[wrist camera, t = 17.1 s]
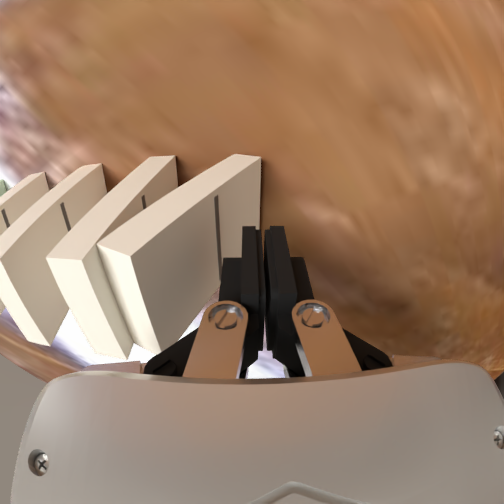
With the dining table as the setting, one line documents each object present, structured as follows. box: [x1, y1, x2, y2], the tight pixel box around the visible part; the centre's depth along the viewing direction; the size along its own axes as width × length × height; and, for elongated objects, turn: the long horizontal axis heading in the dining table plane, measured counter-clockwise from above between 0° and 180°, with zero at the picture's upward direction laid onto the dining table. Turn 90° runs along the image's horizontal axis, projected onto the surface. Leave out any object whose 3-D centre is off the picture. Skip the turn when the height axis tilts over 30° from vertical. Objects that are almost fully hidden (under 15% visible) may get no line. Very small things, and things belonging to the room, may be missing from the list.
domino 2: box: [0, 163, 107, 346], centre depth 13 cm, size 2×5×10 cm, turn 0°
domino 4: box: [96, 154, 261, 355], centre depth 13 cm, size 2×5×10 cm, turn 179°
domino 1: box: [0, 172, 49, 315], centre depth 13 cm, size 2×5×10 cm, turn 179°
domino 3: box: [46, 156, 178, 360], centre depth 13 cm, size 2×5×10 cm, turn 0°
